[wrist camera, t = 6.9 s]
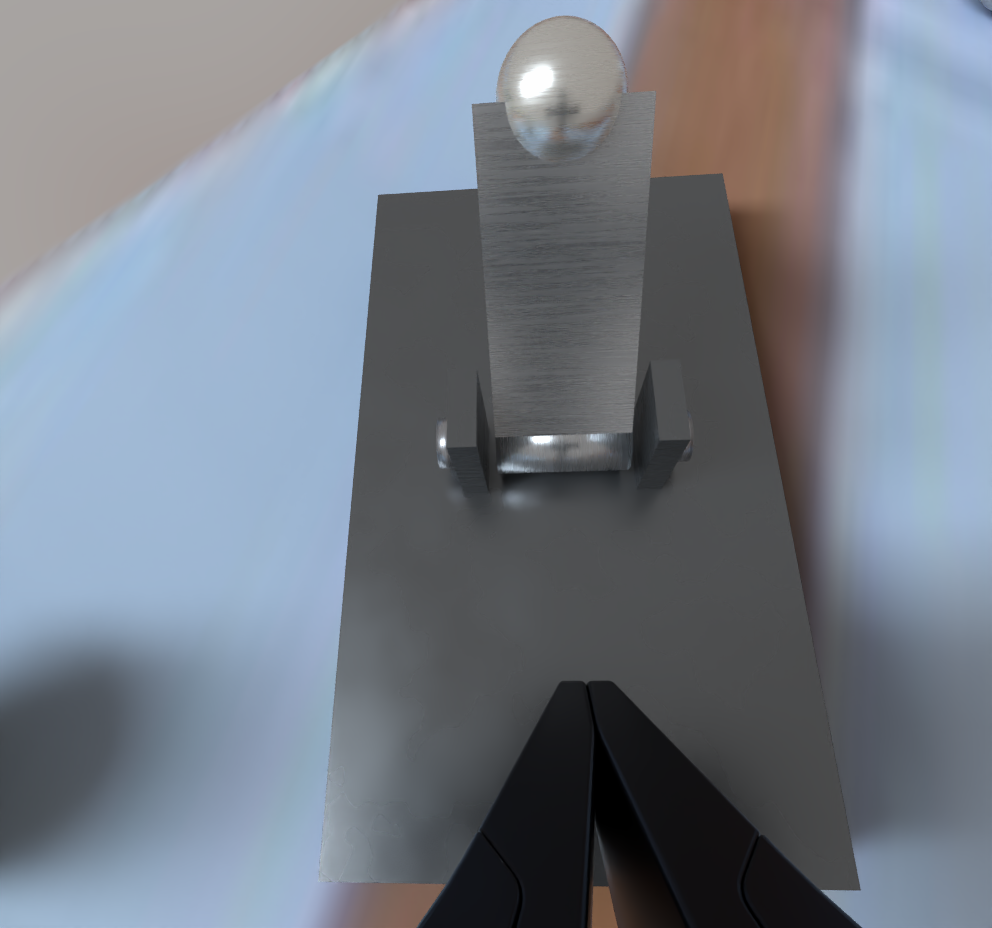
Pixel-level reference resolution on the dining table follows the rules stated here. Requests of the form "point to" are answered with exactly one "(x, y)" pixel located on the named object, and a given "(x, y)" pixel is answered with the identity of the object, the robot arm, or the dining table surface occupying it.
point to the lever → (563, 247)
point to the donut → (987, 4)
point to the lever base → (566, 560)
